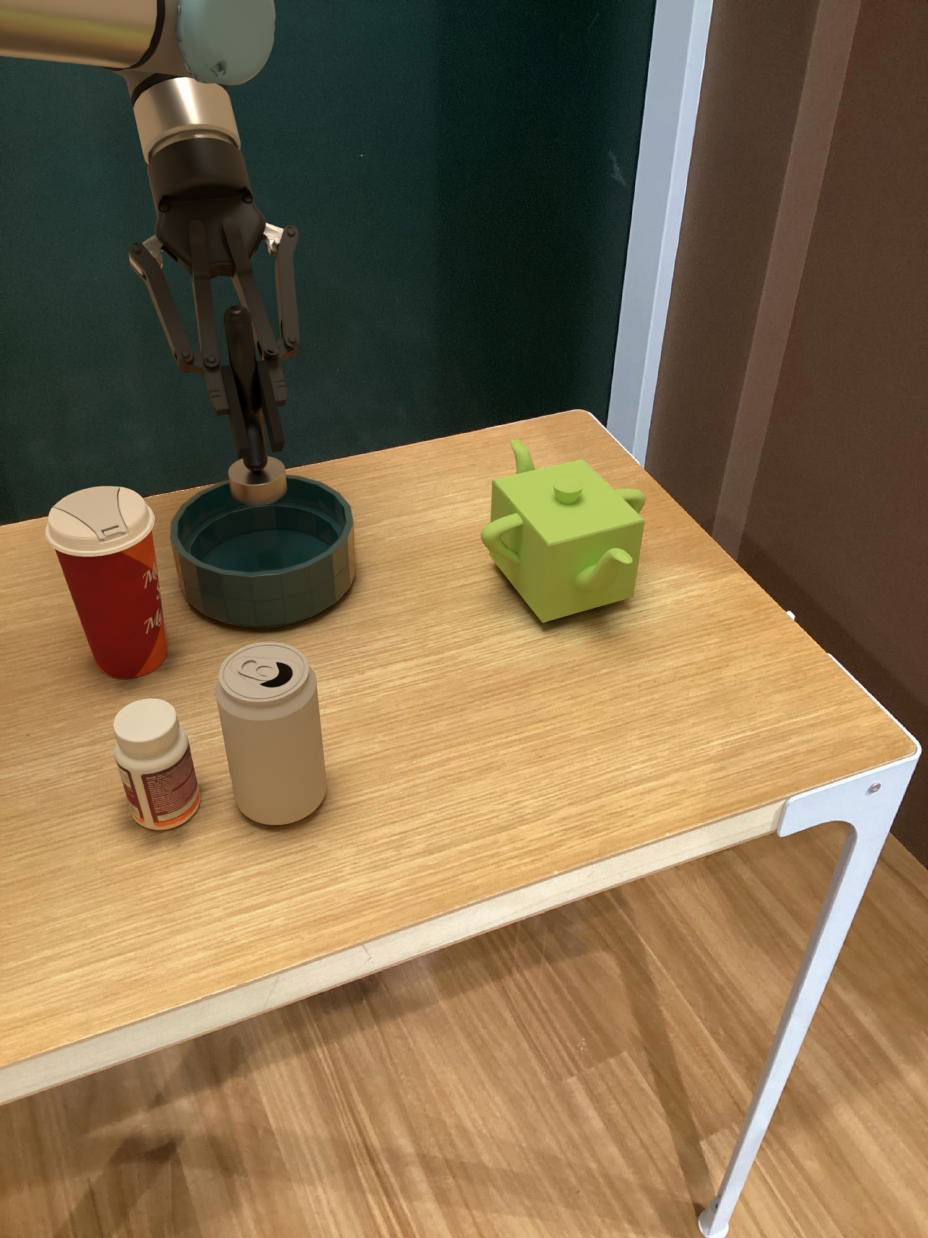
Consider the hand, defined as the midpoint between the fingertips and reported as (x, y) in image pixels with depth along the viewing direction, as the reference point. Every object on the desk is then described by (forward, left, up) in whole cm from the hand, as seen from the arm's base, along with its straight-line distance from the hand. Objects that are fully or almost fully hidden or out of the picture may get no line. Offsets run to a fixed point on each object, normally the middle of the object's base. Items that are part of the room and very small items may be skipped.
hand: (261, 449), depth 82 cm
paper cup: (-12, -5, -15) cm, 20 cm away
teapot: (+24, -1, -15) cm, 29 cm away
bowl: (-1, +4, -15) cm, 16 cm away
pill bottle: (-9, -21, -15) cm, 28 cm away
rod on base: (-1, +4, -6) cm, 7 cm away
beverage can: (-1, -22, -15) cm, 27 cm away
